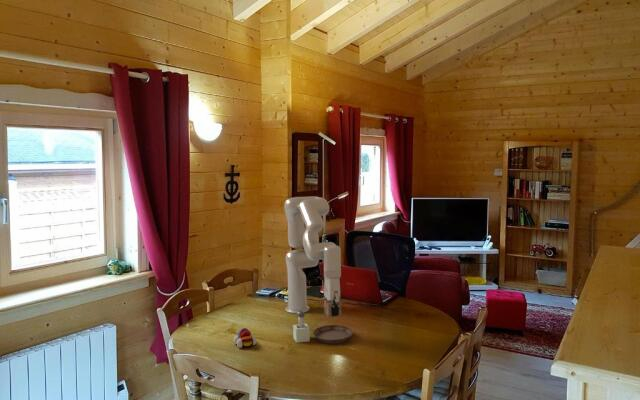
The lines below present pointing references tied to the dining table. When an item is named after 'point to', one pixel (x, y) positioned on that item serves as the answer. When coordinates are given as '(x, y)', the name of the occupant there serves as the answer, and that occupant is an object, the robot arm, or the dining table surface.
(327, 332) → the plant saucer
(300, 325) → the cylinder
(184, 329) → the dining table surface
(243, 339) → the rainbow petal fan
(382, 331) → the dining table surface
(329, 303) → the narrow block
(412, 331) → the dining table surface
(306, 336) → the wide bore block
